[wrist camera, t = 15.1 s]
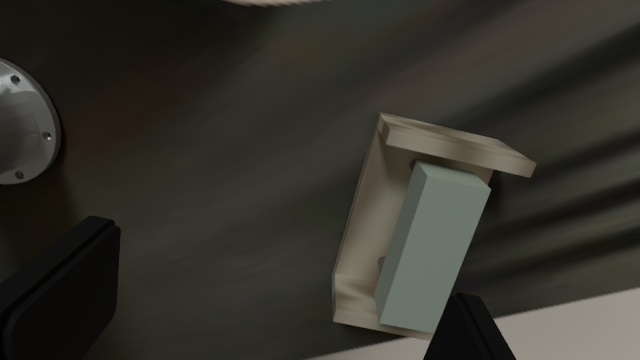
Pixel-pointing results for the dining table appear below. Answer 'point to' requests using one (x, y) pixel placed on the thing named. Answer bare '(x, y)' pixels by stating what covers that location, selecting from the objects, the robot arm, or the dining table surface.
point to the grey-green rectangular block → (428, 245)
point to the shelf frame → (386, 202)
